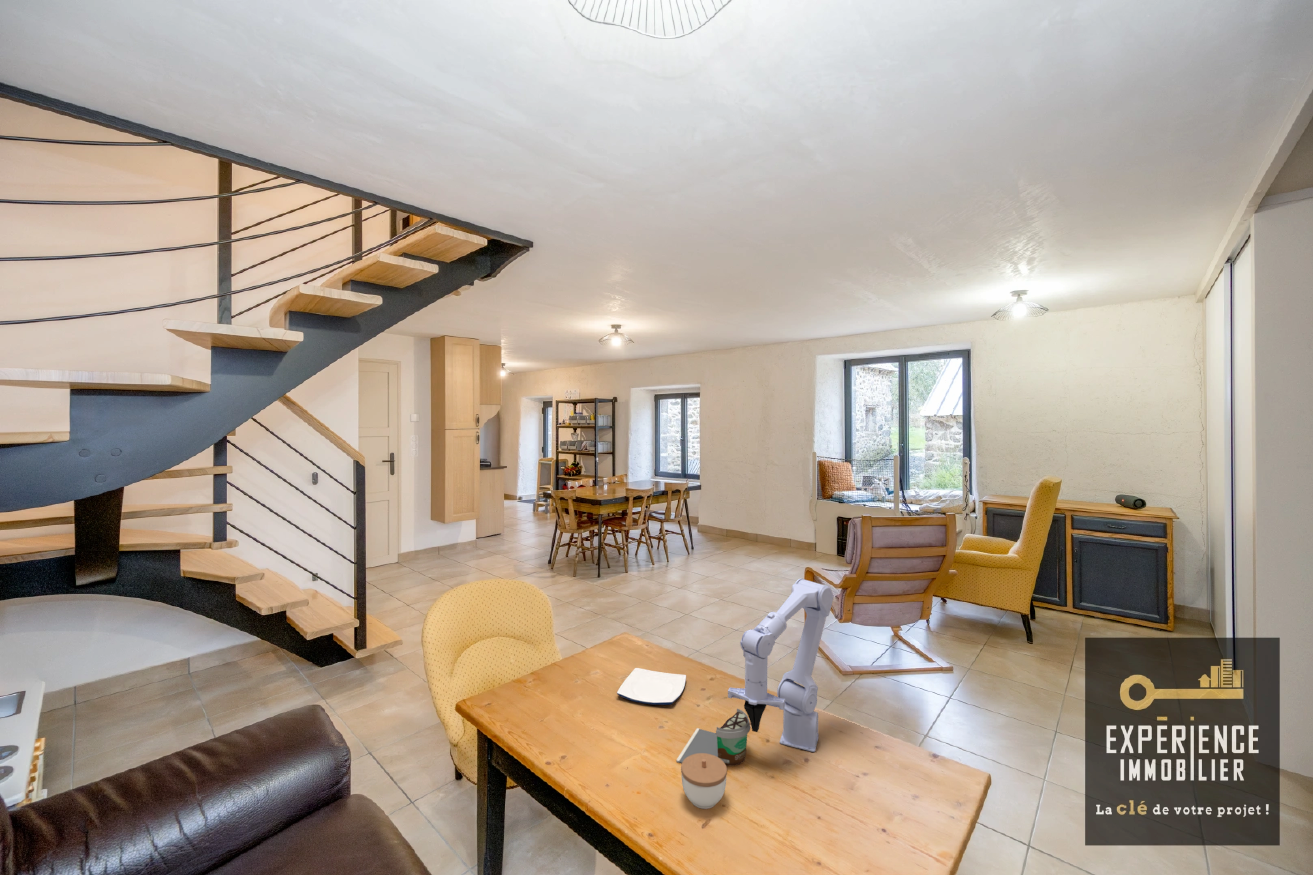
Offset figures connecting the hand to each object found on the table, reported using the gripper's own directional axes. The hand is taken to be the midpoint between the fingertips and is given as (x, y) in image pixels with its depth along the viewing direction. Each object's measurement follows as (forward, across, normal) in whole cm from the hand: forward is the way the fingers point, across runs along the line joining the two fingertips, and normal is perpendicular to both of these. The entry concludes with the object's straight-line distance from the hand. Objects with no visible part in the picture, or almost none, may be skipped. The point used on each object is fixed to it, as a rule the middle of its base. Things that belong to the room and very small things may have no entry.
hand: (755, 729), depth 135 cm
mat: (+9, -14, 0) cm, 17 cm away
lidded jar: (+9, -8, -18) cm, 22 cm away
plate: (+10, -40, +23) cm, 47 cm away
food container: (+9, -5, 0) cm, 10 cm away
